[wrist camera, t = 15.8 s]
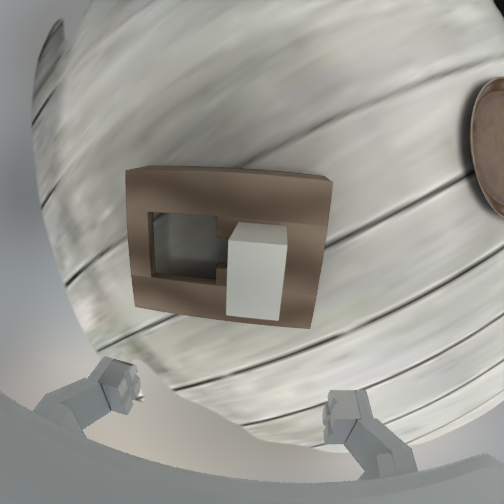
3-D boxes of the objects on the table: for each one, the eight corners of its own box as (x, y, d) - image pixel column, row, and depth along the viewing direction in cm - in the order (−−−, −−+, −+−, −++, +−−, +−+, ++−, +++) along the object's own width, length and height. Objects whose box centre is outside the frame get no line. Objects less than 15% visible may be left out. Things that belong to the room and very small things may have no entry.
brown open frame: (149, 165, 29) (125, 170, 24) (324, 176, 28) (332, 181, 23) (153, 285, 34) (135, 306, 29) (306, 302, 32) (310, 328, 28)
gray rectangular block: (241, 212, 28) (224, 239, 20) (288, 216, 28) (291, 245, 20) (238, 270, 30) (222, 314, 22) (282, 274, 30) (281, 321, 22)
